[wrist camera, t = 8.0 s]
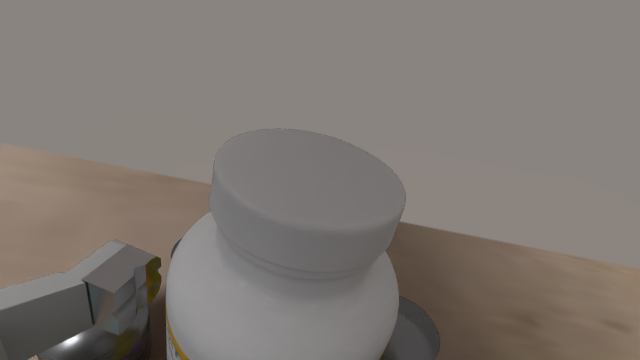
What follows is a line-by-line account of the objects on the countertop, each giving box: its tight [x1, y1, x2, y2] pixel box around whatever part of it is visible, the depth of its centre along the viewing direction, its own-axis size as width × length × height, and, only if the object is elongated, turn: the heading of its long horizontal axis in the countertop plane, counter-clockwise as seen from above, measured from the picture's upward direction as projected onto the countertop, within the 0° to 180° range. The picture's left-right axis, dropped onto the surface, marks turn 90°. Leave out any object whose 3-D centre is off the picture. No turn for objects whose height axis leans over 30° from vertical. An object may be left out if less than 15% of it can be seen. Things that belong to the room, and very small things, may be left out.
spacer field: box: [37, 238, 440, 360], centre depth 17 cm, size 19×12×3 cm, turn 75°
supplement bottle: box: [166, 129, 406, 360], centre depth 11 cm, size 7×7×13 cm
